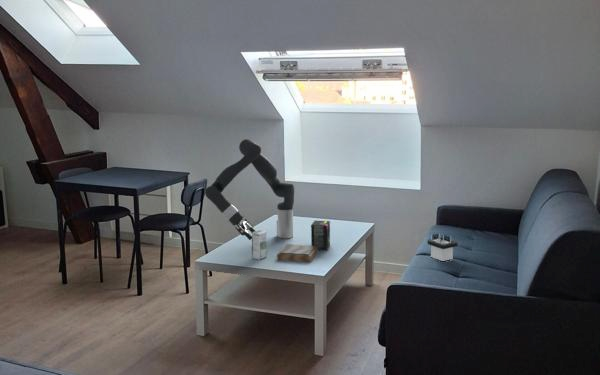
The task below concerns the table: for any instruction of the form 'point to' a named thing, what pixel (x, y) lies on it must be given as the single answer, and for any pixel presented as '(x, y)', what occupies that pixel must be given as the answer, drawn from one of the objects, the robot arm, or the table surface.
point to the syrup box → (259, 244)
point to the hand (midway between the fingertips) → (253, 236)
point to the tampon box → (320, 234)
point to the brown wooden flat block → (297, 253)
